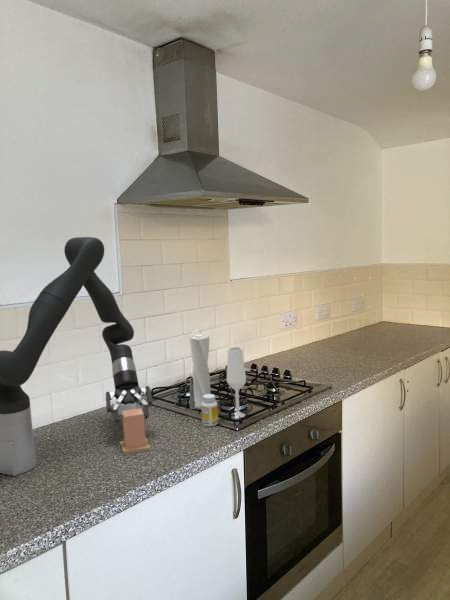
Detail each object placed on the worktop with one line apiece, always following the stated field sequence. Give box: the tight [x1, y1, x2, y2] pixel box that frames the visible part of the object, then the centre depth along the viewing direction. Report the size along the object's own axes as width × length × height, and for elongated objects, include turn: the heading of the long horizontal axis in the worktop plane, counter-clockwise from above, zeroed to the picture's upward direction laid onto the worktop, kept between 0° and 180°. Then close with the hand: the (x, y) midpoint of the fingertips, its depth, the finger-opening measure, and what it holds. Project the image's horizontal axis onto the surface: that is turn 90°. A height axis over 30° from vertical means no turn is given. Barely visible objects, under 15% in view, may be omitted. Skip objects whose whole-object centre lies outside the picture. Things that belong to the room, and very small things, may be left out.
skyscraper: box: [188, 328, 211, 410], centre depth 182 cm, size 8×8×28 cm
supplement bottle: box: [200, 393, 219, 427], centre depth 165 cm, size 5×5×10 cm
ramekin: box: [111, 398, 137, 416], centre depth 180 cm, size 9×9×4 cm
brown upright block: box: [121, 407, 146, 449], centre depth 149 cm, size 6×6×10 cm
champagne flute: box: [226, 346, 247, 417], centre depth 169 cm, size 7×7×24 cm
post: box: [119, 436, 152, 455], centre depth 149 cm, size 8×8×8 cm
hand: (132, 420), depth 152 cm, fingers open, 8 cm apart
